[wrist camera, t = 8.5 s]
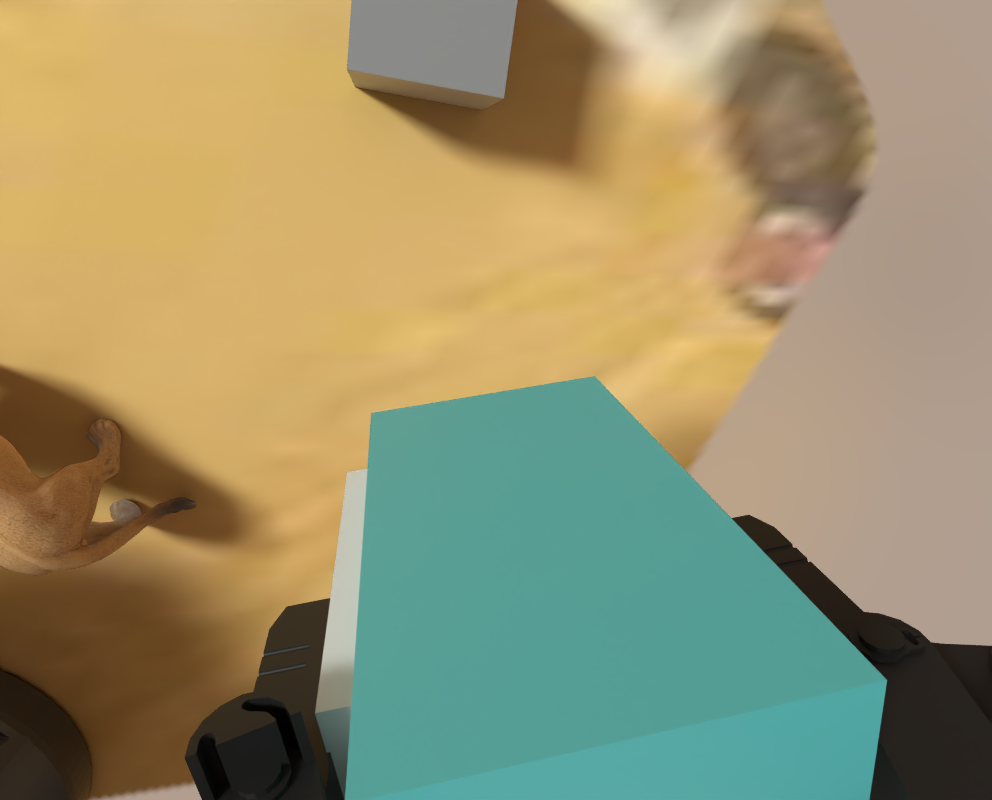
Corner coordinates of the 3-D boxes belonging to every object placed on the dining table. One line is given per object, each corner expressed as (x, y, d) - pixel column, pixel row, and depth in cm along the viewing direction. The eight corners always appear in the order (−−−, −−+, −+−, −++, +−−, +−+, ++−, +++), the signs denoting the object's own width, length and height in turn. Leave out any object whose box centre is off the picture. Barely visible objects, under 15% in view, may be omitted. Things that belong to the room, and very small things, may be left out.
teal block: (409, 600, 15) (434, 1107, 7) (371, 412, 14) (344, 805, 5) (605, 561, 16) (841, 993, 8) (594, 376, 14) (887, 680, 6)
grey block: (355, 87, 24) (347, 69, 20) (366, -66, 23) (359, -125, 18) (483, 110, 25) (503, 98, 21) (502, -35, 24) (529, -83, 19)
